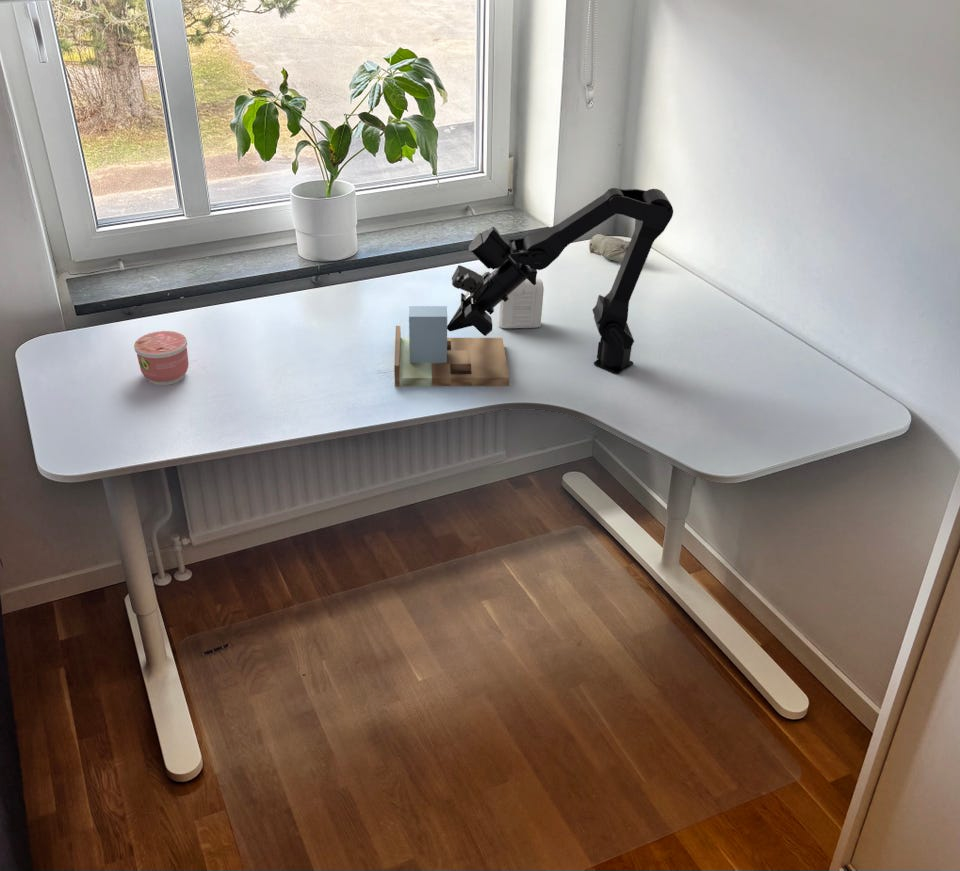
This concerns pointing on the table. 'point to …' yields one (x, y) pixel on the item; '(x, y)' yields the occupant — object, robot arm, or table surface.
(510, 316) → the photo printer
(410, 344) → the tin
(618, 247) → the decorative bird
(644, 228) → the robot arm
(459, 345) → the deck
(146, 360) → the container
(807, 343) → the table surface
